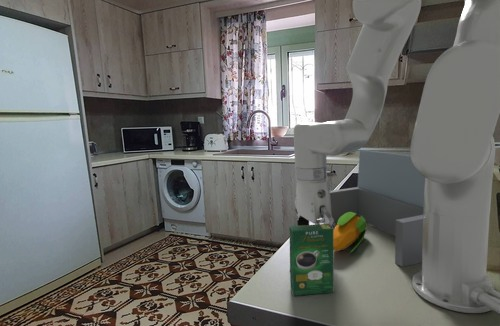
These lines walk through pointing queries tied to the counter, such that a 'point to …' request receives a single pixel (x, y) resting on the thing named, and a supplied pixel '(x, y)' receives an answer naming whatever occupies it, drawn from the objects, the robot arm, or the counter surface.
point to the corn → (348, 231)
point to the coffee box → (311, 259)
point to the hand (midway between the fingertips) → (312, 240)
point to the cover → (391, 176)
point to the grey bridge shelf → (385, 219)
